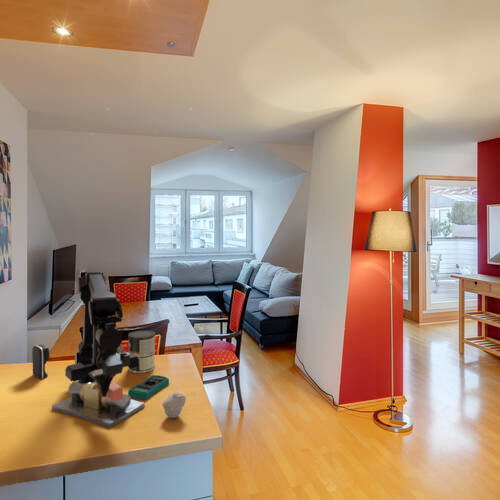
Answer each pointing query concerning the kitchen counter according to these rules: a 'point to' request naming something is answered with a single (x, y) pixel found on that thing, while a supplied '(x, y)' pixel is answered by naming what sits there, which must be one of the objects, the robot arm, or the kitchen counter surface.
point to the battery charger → (40, 360)
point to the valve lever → (115, 391)
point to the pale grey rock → (174, 404)
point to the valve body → (96, 405)
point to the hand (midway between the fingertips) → (103, 396)
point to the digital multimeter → (148, 387)
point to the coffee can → (143, 350)
